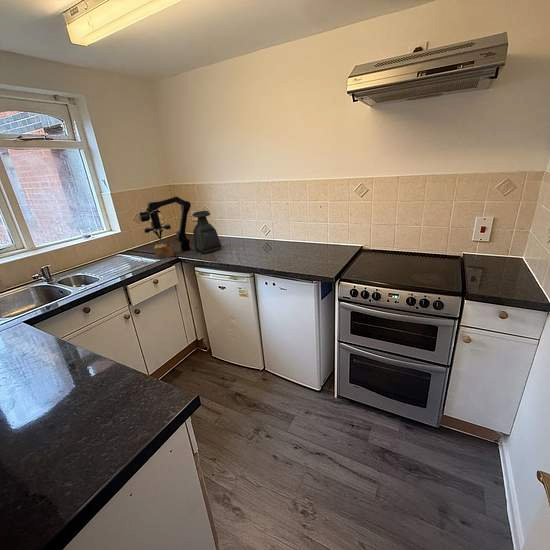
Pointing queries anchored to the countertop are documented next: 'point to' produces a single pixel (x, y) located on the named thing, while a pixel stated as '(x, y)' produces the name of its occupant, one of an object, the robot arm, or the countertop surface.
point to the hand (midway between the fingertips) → (160, 239)
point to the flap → (158, 246)
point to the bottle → (205, 234)
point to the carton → (165, 251)
